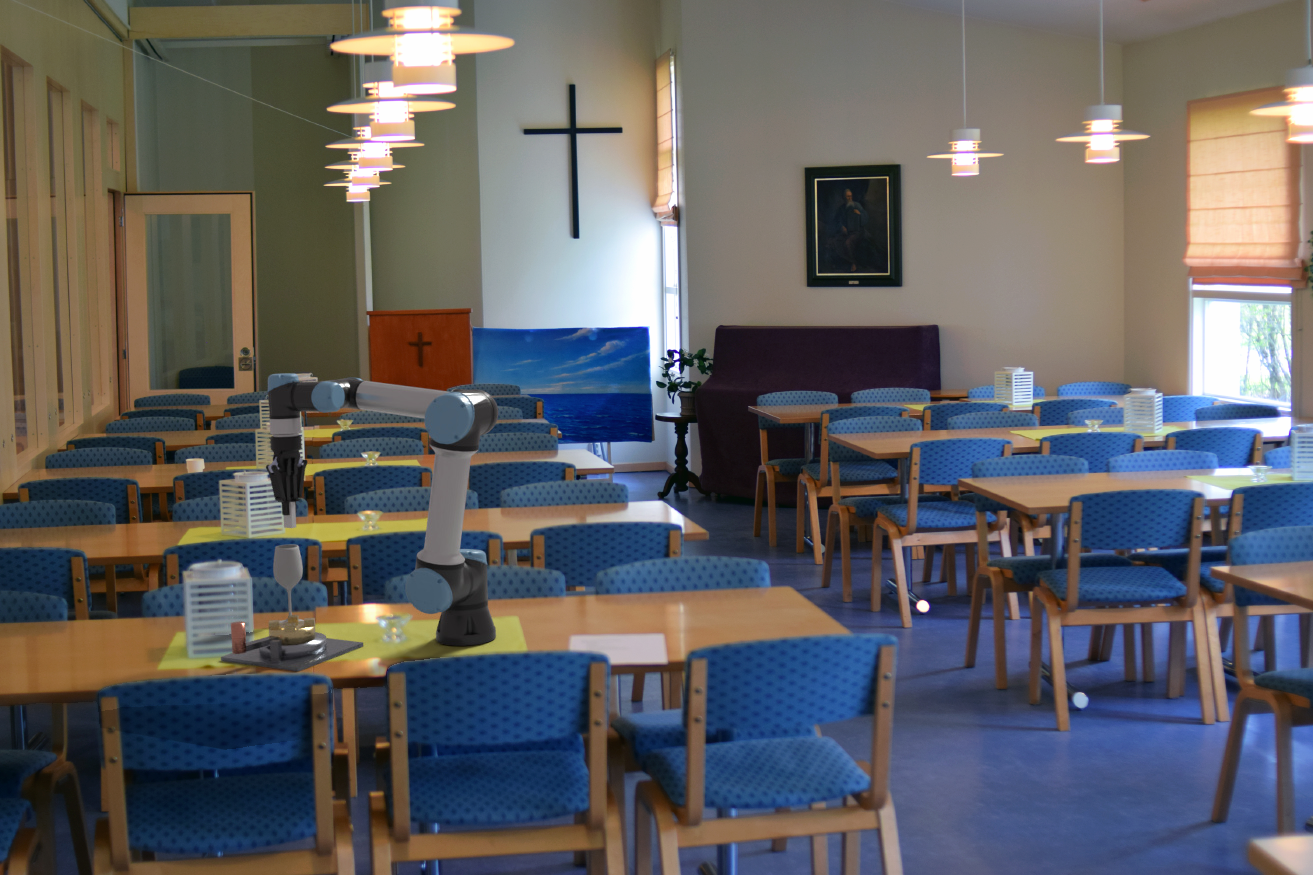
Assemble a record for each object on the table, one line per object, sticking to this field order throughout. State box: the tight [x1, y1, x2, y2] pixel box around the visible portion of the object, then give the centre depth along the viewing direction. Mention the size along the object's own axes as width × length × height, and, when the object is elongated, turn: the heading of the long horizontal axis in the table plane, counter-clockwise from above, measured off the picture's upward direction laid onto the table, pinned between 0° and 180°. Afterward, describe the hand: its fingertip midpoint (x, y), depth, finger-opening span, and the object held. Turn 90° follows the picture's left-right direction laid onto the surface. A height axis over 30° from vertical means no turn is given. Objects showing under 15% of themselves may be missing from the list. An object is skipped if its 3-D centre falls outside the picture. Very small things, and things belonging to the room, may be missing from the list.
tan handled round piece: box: [230, 614, 316, 654], centre depth 317 cm, size 23×11×7 cm, turn 146°
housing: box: [220, 631, 364, 672], centre depth 322 cm, size 24×24×6 cm
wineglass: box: [272, 544, 304, 623], centre depth 353 cm, size 8×8×21 cm
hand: (290, 527), depth 332 cm, fingers closed
